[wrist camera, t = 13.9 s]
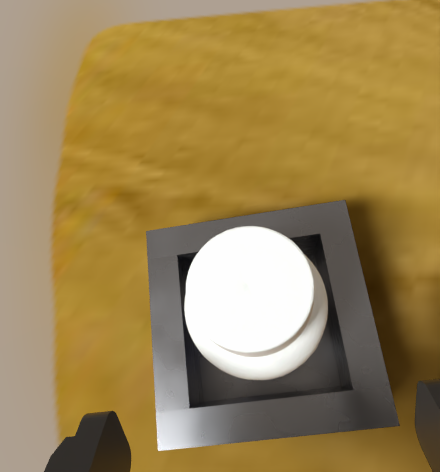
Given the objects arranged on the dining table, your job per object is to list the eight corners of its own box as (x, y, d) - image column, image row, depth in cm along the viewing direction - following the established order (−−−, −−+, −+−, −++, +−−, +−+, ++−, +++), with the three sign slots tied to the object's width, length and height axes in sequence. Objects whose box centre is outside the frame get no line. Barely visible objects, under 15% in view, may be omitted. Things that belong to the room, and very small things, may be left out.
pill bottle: (229, 267, 22) (193, 189, 13) (324, 292, 21) (355, 224, 12) (200, 362, 21) (137, 346, 12) (300, 395, 19) (316, 406, 10)
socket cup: (169, 254, 24) (146, 231, 20) (332, 230, 23) (345, 199, 19) (182, 433, 21) (158, 450, 17) (373, 413, 20) (399, 425, 16)
